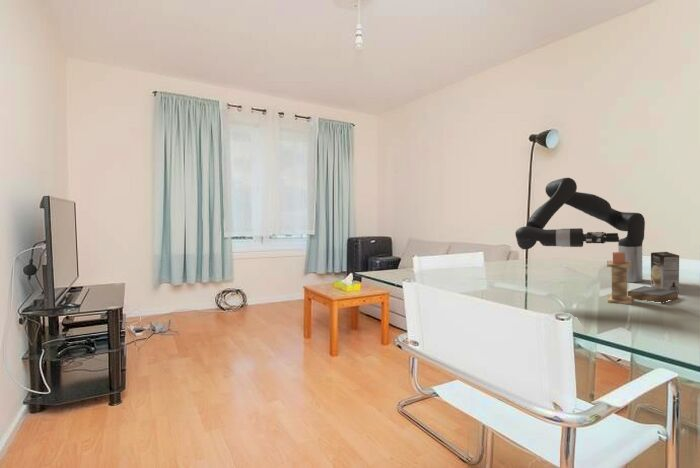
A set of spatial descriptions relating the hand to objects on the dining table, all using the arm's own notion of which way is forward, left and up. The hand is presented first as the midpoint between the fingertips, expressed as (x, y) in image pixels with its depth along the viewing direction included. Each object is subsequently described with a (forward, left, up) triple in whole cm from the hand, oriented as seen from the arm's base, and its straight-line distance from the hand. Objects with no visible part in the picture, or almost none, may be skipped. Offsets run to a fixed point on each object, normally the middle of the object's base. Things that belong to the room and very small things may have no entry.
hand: (618, 237), depth 140 cm
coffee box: (-2, +38, -28) cm, 47 cm away
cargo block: (-5, +10, -12) cm, 16 cm away
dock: (+1, +22, -28) cm, 35 cm away
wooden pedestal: (-5, +10, -28) cm, 30 cm away
